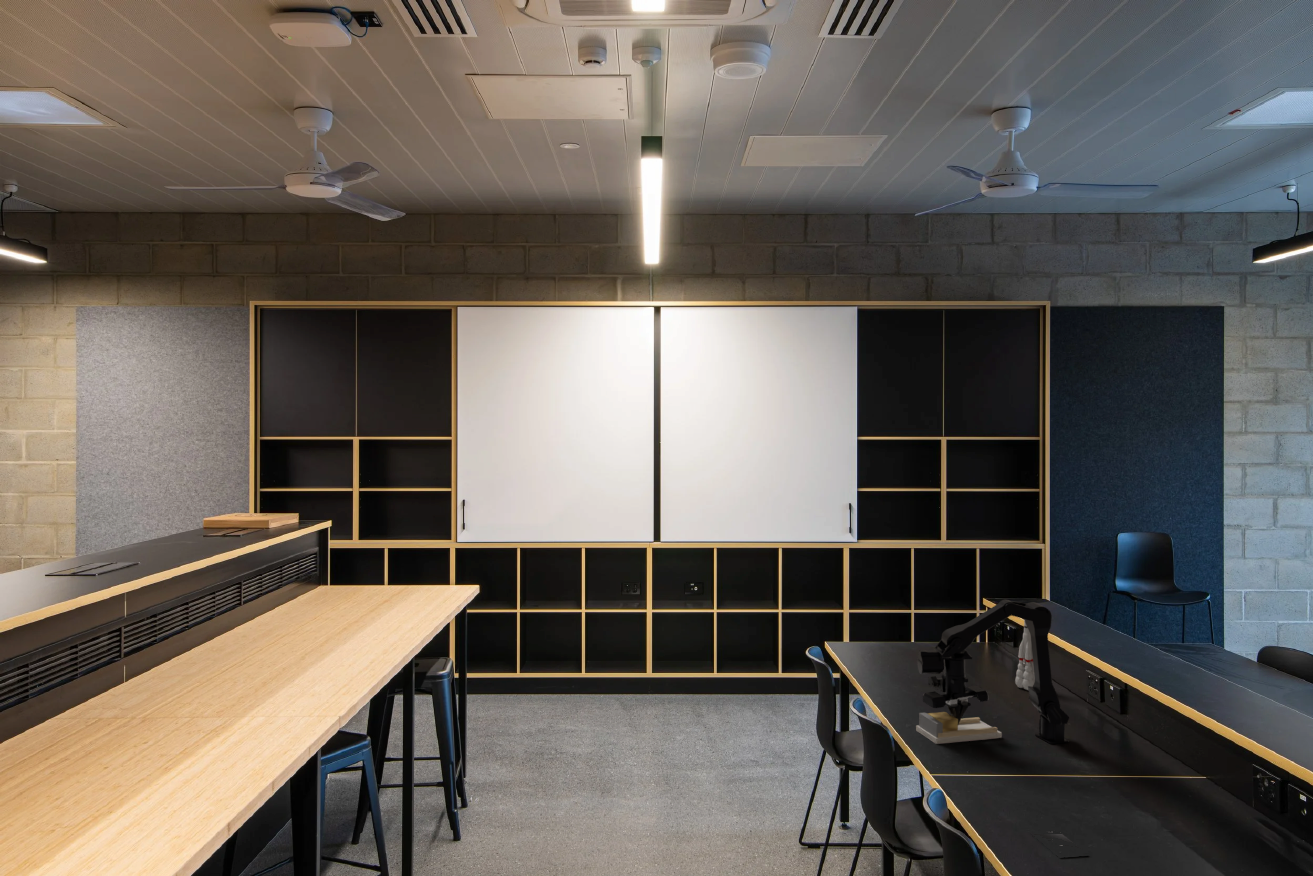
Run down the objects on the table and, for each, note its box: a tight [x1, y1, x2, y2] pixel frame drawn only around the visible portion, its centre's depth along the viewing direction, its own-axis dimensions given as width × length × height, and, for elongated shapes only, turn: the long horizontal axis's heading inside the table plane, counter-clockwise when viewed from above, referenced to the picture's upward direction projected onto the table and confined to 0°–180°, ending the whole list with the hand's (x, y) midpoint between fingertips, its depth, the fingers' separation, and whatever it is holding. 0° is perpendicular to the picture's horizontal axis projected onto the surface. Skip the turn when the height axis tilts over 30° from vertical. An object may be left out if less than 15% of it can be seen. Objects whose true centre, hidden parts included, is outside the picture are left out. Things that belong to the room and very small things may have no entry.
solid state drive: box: [1033, 830, 1082, 849], centre depth 165 cm, size 7×10×1 cm
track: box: [915, 712, 1003, 745], centre depth 225 cm, size 22×10×6 cm, turn 104°
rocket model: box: [1014, 619, 1035, 691], centre depth 268 cm, size 7×7×30 cm
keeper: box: [927, 711, 958, 732], centre depth 224 cm, size 6×6×4 cm
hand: (956, 725), depth 225 cm, fingers closed
